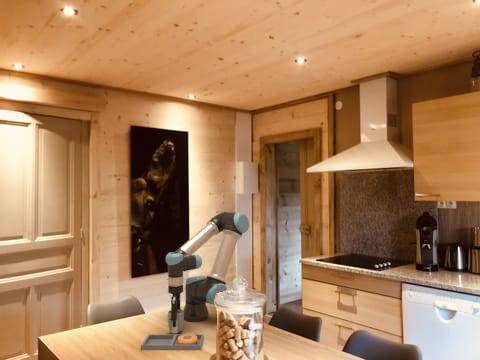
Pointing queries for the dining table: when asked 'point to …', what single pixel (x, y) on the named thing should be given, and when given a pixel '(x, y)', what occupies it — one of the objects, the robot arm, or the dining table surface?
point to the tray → (169, 342)
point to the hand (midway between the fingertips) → (176, 329)
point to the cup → (179, 320)
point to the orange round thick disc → (187, 339)
